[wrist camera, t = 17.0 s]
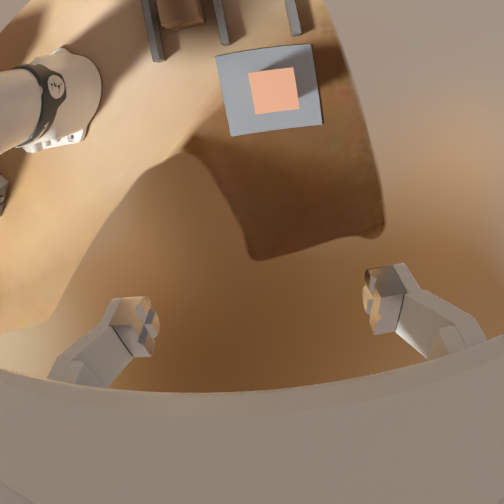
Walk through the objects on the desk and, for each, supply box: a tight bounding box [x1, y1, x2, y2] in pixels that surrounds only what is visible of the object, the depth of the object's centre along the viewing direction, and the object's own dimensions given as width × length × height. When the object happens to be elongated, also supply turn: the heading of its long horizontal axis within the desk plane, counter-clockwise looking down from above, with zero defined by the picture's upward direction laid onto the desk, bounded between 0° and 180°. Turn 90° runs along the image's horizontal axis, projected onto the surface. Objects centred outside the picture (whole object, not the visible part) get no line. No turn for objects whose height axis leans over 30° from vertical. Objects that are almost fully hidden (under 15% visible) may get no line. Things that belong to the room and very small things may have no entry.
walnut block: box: [156, 0, 205, 32], centre depth 29 cm, size 5×5×6 cm
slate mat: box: [215, 44, 322, 137], centre depth 38 cm, size 14×13×1 cm
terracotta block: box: [248, 67, 300, 114], centre depth 33 cm, size 5×5×11 cm
